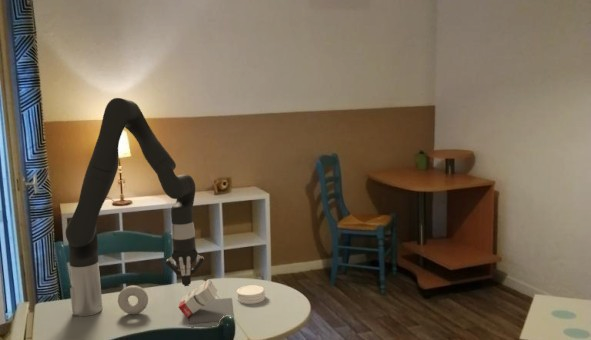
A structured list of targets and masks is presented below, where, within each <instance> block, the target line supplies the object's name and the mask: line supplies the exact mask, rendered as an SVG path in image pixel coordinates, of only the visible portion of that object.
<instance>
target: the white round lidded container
mask: <svg viewBox="0 0 591 340" xmlns="http://www.w3.org/2000/svg"><path fill="white" fill-rule="evenodd" d="M265 292H266V290H265V288H264V287H262V286H261V285H253V284H252V285H244V286H241V287H239V288H238V289H237V290H236V299H237V301H238V302H239V303H241V304H245V305H248V304H249V305H253V304H255V305H256V304H260V303H261V302H263V301H264V300H265V299H266V293H265Z"/></svg>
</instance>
